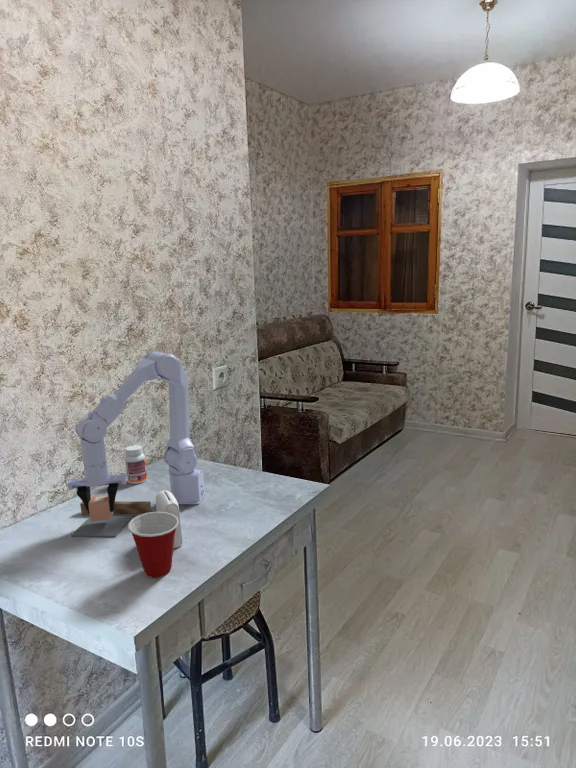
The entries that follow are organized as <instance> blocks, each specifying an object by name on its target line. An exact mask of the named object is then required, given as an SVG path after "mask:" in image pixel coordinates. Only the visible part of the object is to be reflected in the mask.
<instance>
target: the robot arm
mask: <svg viewBox="0 0 576 768" xmlns="http://www.w3.org/2000/svg"><path fill="white" fill-rule="evenodd" d="M158 379H162V380H163V381H164V382H166V383H167V384H168V401H169V439H168V440H167V441H166V449H165V451H164V453H163V459H164V460H163V461H164V463H166V465H168V473H169V474H168V475H169V484H170V493H172V494H173V496H174V497H175V499H176V500H177V502H178V505H199V504H200V503H201V502H202V500H203V499H204V497H205V496H206V494H207V492H206V488H205V475H204V472H203V470H200V469H196V468H197V466H198V457H197V455H196V452H195V445H194V444H193V442H192V441H191V438H190V417H189V416H190V410H189V409H190V405H189V376H188V375H187V373H186V371H185V369H184V367H183V366H182V361H181V359H179V358H178V357H177V356H175V355H174V354H171V353H165V352H160V351H157V350H153V351H152V350H151V351H149V352H147V353H146V354H145V356H144V358H142V359H141V360H139V362H138V363H137V365H136V367H135V368H134V369H133V371H132V372H131V373H130V374H129V375H128V376H127V377H126V379H125V380H124V382H123V383H122V384H121V385H120V386H119V387H118V389H117V390H116V391H115V392H114V393H112V394H106V396H101V398H100V399H99V403H98V404H97V405H96V407H95V408H93V410H92V411H91V412H90V411H89V412H88V413H87V414H86V416H85V417H83V418H81V419H80V420H79V421H78V423H77V426H76V428H75V432H76V434H77V436H78V437H79V439H80V447H81V448H80V449H81V456H82V463H83V471H84V477H82V478H76V479H75V478H74V479H70V480H68V482H67V489H68V491H70V490H71V491H72V490H74V489H76V495H77V496H78V498H79V499H80V500H81V502H83V503H84V505H85V507H86V509H87V511H88V514H87V515H90V513H89V505H88V503H89V501H90V500H91V498H92V496H91V487H93V488H95V487H102V486H107V488H106V492H107V495H108V496H109V502H110V511H111V512H113V511H114V505H115V501H116V498H117V492H118V489H119V486H120V485H126V484H127V483H128V478H127V474H109V469H108V461H107V453H106V445H105V441H104V440H105V437H106V435H107V434H108V433H107V431H108V428H109V427H110V426H111V424H112V423H113V422H114V421H115V420H116V419H117V418H118V417H119V416H120V414H121V413H122V412H123V411H125V402H126V401H127V400H128V399H130V397H132V395H133V394H134V393H135V392H136V391H137V390H138V389H139V388H140V387H141V386H142V385H143V384H144V383H145V382H147V381H153V380H158Z"/></svg>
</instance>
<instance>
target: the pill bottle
mask: <svg viewBox="0 0 576 768" xmlns="http://www.w3.org/2000/svg"><path fill="white" fill-rule="evenodd" d="M124 459H125V460H124V461H125V469H126V476H127V483H129V484H131V485H137V484H138V485H139V484H143V483H145V482H146V481H147V480H148V472H147V461H146V456H145V453H144V451H143V446H142V445H138V444H134V445H129V446H127V447H125V458H124Z"/></svg>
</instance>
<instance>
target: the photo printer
mask: <svg viewBox="0 0 576 768" xmlns="http://www.w3.org/2000/svg"><path fill="white" fill-rule="evenodd" d="M155 505H156V512H167V513H170V514H173V515H175V516H176V517H177V518H178V520H179V524H178V526H177V527H176V531H175V536H174V547H173V549H177V548H180V547H181V546H182V545H183V533H182V524H181V515H180V514H181V513H180V508H179V507H180V506H179V505H180V504H178V502H177V500H176V499H175V497H174V496H173V494H172V493H171V491H169V490H166V489H165V490H160V491H159V492H157V493H156V495H155Z"/></svg>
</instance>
